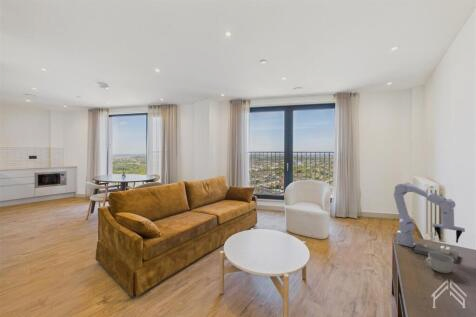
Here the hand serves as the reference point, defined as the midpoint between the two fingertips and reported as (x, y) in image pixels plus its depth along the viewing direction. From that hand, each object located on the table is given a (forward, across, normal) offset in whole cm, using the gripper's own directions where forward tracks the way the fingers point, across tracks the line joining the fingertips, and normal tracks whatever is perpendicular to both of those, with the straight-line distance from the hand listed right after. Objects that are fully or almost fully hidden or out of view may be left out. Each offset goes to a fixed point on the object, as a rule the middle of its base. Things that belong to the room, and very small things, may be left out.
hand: (448, 240), depth 137 cm
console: (+10, -6, 0) cm, 12 cm away
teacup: (+11, -3, -24) cm, 27 cm away
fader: (+8, -2, 0) cm, 8 cm away
